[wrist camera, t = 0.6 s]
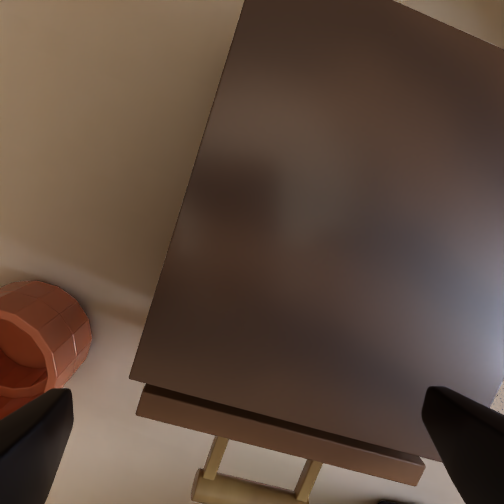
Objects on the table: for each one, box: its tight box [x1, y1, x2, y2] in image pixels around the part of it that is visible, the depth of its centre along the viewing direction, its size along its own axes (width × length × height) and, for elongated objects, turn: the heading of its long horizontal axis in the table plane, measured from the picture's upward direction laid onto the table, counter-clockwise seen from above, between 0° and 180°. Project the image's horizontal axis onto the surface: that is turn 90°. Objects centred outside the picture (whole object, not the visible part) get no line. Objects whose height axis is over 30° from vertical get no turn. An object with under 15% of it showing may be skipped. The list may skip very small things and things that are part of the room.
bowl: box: [0, 280, 92, 420], centre depth 19 cm, size 7×7×5 cm
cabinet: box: [129, 0, 504, 463], centre depth 17 cm, size 16×15×9 cm
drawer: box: [136, 383, 426, 504], centre depth 18 cm, size 20×14×7 cm
